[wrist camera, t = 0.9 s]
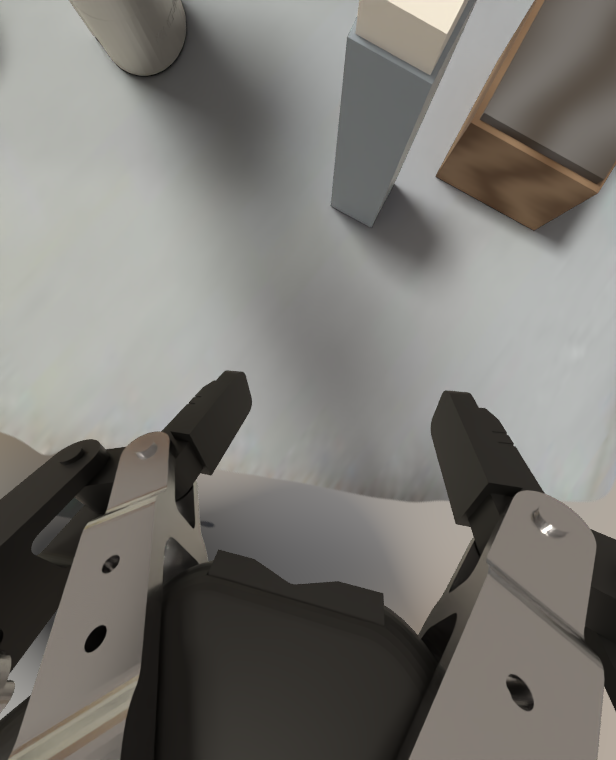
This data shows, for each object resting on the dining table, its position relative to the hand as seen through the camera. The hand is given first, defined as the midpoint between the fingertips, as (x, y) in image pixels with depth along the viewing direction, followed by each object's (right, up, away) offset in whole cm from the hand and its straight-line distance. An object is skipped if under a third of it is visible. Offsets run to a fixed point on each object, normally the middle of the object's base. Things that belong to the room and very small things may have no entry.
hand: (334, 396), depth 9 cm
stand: (+20, +25, +14) cm, 35 cm away
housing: (+5, +21, +15) cm, 26 cm away
